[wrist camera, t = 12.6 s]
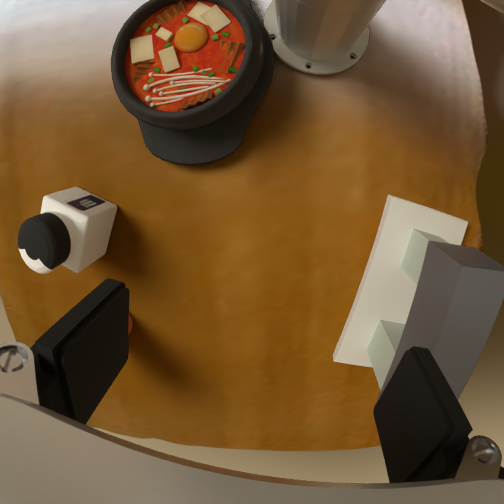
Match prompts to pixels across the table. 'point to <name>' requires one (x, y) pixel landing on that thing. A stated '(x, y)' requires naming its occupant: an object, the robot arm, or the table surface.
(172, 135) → the casserole
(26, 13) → the table surface
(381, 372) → the stand
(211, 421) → the table surface
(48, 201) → the container
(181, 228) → the table surface
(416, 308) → the bar
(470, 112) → the table surface
